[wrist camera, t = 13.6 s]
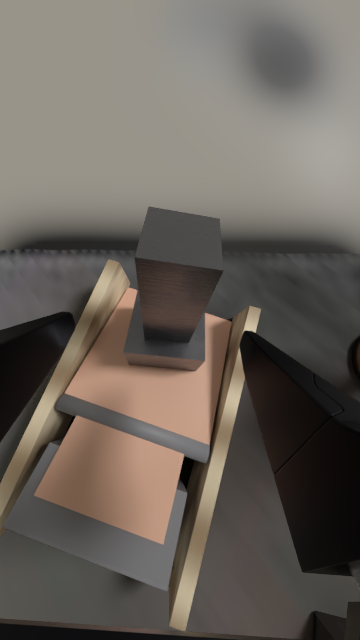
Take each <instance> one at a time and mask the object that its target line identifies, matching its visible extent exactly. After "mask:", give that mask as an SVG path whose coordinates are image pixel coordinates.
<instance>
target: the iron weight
mask: <svg viewBox="0 0 360 640" xmlns="http://www.w3.org/2000/svg"><path fill="white" fill-rule="evenodd" d="M135 264H136V272H137V281H138V290H137V295H136V299H135V303H134V308H133V312H132V316H131V321H130V325H129V329H128V334H127V338H126V342H125V346H124V351H123V353H124V355H125V357H126V360H127V362H128V364H129V365H136V366H147V367H157V368H167V369H177V370H188V371H196V370H197V369H198V368H199V367H200V366H201V365H202V364H203V363H204V362H205V308H206V306H207V304H208V302H209V300H210V298H211V296H212V293H213V291H214V289H215V287H216V285H217V283H218V281H219V279H220V277H221V275H222V273H223V258H222V245H221V233H220V219H217V218H212V217H206V216H200V215H194V214H188V213H183V212H177V211H171V210H165V209H159V208H154V207H149V208H148V211H147V215H146V218H145V222H144V225H143V229H142V233H141V236H140V240H139V244H138V248H137V251H136V255H135Z"/></svg>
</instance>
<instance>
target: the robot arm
mask: <svg viewBox="0 0 360 640" xmlns="http://www.w3.org/2000/svg"><path fill="white" fill-rule="evenodd" d="M74 331H75V323H74V319H73V315H72V313H70V312H59V313H56V314H53V315H49V316H46V317H43V318H39V319H36V320H33V321H29V322H26V323H23V324H19V325H16V326H13V327H9V328H6V329H3V330H0V442H1V441H2V439H3V438H4V436H5V435H6V433H7V432H8V431H9V429H10V428H11V426H12V425H13V423H14V422H15V421H16V419H17V418H18V416H19V415H20V413H21V412H22V410H23V409H24V408H25V406H26V405H27V403H28V402H29V400H30V399H31V398H32V396H33V395H34V393H35V392H36V390H37V389H38V388H39V386H40V385H41V383H42V382H43V380H44V379H45V377H46V376H47V375H48V373H49V372H50V370H51V369H52V367H53V366H54V365H55V363H56V362H57V360H58V359H59V357H60V356H61V354H62V353H63V351H64V349H65V347H66V345H67V344H68V342H69V340H70V338H71V336H72V334H73V333H74ZM239 347H240V353H241V359H242V365H243V371H244V375H245V379H246V382H247V385H248V389H249V392H250V396H251V399H252V403H253V406H254V409H255V413H256V416H257V420H258V423H259V427H260V430H261V433H262V437H263V440H264V444H265V447H266V451H267V454H268V457H269V461H270V464H271V468H272V471H273V474H274V478H275V482H276V485H277V489H278V492H279V496H280V499H281V502H282V506H283V509H284V513H285V516H286V520H287V523H288V526H289V530H290V533H291V537H292V540H293V544H294V547H295V550H296V554H297V557H298V561H299V564H300V567H301V570H302V572H304V573H316V574H329V575H342V576H353V578H354V580H355V582H356V584H357V586H358V589H359V591H360V402H359V401H357V400H355V399H354V398H352V397H350V396H349V395H347V394H346V393H344V392H342V391H341V390H339V389H338V388H336V387H335V386H333V385H332V384H330V383H328V382H327V381H325V380H324V379H322V378H321V377H320V376H318V375H317V374H315V373H313V372H312V371H311V370H309V369H308V368H306V367H305V366H303V365H302V364H300V363H299V362H297V361H296V360H294V359H293V358H291V357H290V356H289V355H287V354H286V353H284V352H283V351H281V350H280V349H278V348H277V347H275V346H274V345H272V344H271V343H269V342H268V341H266V340H265V339H264V338H262V337H261V336H259V335H258V334H256V333H255V332H253V331H247V330H246V331H244V332H243V335H242V338H241V341H240V345H239ZM0 640H300V639H286V638H271V637H257V636H243V635H228V634H214V633H200V632H185V631H171V630H157V629H143V628H128V627H114V626H100V625H85V624H71V623H57V622H43V621H28V620H14V619H0ZM344 640H360V602H348V609H347V618H346V627H345V637H344Z"/></svg>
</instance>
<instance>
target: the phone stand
mask: <svg viewBox="0 0 360 640" xmlns="http://www.w3.org/2000/svg"><path fill="white" fill-rule="evenodd" d="M345 627H346V619H345V618H342V617H338V616H334V615H330V614H326V613H322V612H318V611H316V612H315V635H314V640H344V637H345Z"/></svg>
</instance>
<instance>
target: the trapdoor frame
mask: <svg viewBox="0 0 360 640" xmlns="http://www.w3.org/2000/svg"><path fill="white" fill-rule="evenodd" d="M129 286H130V282H129V280H128V278H127V276H126V274H125V272H124V271H123V269H122V267H121V265H120V263H119V262H116V261H113V260H110V259H109V260H108V262H107V264H106V266H105V268H104V270H103V272H102V274H101V276H100V278H99V280H98V282H97V284H96V287H95V289H94V291H93V293H92V295H91V297H90V299H89V301H88V303H87V305H86V307H85V309H84V311H83V313H82V315H81V318H80V320H79V322H78V324H77V326H76V328H75V331H74V333H73V334H72V336H71V338H70V340H69V342H68V344H67V346H66V348H65V351H64V353H63V355H62V357H61V359H60V361H59V363H58V365H57V367H56V369H55V371H54V373H53V375H52V377H51V379H50V382H49V384H48V386H47V388H46V390H45V392H44V394H43V396H42V398H41V400H40V402H39V404H38V406H37V408H36V410H35V412H34V415H33V417H32V419H31V421H30V423H29V425H28V427H27V429H26V431H25V433H24V435H23V437H22V439H21V441H20V443H19V446H18V448H17V450H16V452H15V454H14V456H13V458H12V460H11V462H10V464H9V466H8V468H7V470H6V472H5V474H4V477H3V479H2V481H1V483H0V536H1V535H2V534H3V533H4V532H5V531H6V530H7V529H5V528H3V527H2V526H3V524H4V522H5V520H6V519H7V517H8V515H9V513H10V512H11V510H12V508H13V506H14V505H15V503H16V501H17V499H18V498H19V496H20V494H21V492H22V490H23V489H24V487H25V485H26V483H27V482H28V480H29V478H30V476H31V475H32V473H33V471H34V469H35V468H36V466H37V464H38V462H39V460H40V459H41V457H42V455H43V453H44V452H45V450H46V448H47V446H48V445H49V443H50V442H53V441H57V440H61V439H63V437H64V435H65V433H66V430H67V428H68V426H69V423H70V421H71V419H72V415H70V414H67V413H64V412H61V411H59V410H56V404H57V402H58V400H59V398H60V397H61V396H62V395H63V394H64V393H65V391H66V389H67V388H68V386H69V384H70V383H71V381H72V380H73V378H74V376H75V375H76V373H77V371H78V370H79V368H80V366H81V365H82V363H83V361H84V360H85V358H86V356H87V355H88V353H89V351H90V350H91V348H92V346H93V345H94V343H95V341H96V340H97V338H98V336H99V335H100V333H101V331H102V330H103V328H104V326H105V325H106V323H107V322H108V320H109V318H110V317H111V315H112V313H113V312H114V310H115V308H116V307H117V305H118V303H119V302H120V300H121V298H122V297H123V295H124V293H125V292H126V290H127V288H128V287H129ZM260 311H261V309H259V308H256V307H253V306H249V307H247V308H246V309H244V310H243V311H242V312H240V313H239V314H237V315H236V316H235V317H233V320H232V324H231V328H230V334H229V339H228V345H227V350H226V356H225V362H224V367H223V373H222V378H221V384H220V390H219V395H218V401H217V407H216V412H215V418H214V423H213V429H212V435H211V440H210V451H209V457H208V460H207V462H206V463H202V462H199V461H197V460H194V464H193V467H192V471H191V475H190V478H189V482H188V486H187V489H186V491H187V498H186V503H185V508H184V513H183V517H182V522H181V527H180V532H179V537H178V542H177V546H176V551H175V556H174V561H173V566H172V570H171V575H170V580H169V585H168V587H170V596H169V626H171V627H174V628H176V629H179V630H181V631H185V630H186V625H187V621H188V617H189V613H190V608H191V604H192V600H193V596H194V591H195V587H196V583H197V579H198V574H199V570H200V566H201V562H202V557H203V553H204V549H205V545H206V541H207V536H208V532H209V528H210V524H211V519H212V515H213V511H214V507H215V502H216V498H217V494H218V490H219V485H220V481H221V477H222V473H223V468H224V464H225V460H226V456H227V451H228V447H229V443H230V439H231V434H232V430H233V426H234V422H235V417H236V413H237V409H238V405H239V400H240V396H241V392H242V388H243V383H244V379H245V375H244V371H243V365H242V359H241V353H240V347H239V345H240V341H241V338H242V335H243V332H244V331H246V330H247V331H253V332H256V328H257V324H258V320H259V315H260Z"/></svg>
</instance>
